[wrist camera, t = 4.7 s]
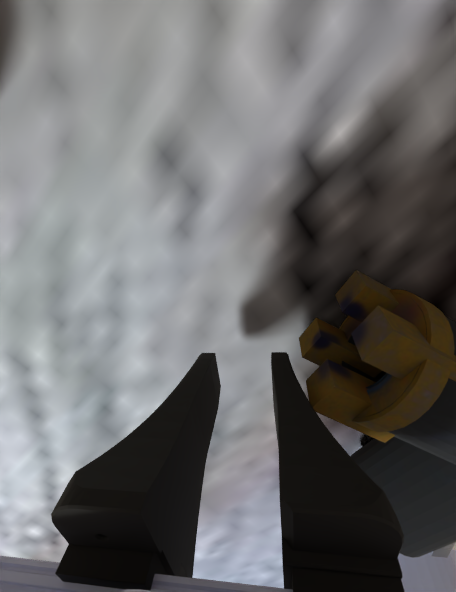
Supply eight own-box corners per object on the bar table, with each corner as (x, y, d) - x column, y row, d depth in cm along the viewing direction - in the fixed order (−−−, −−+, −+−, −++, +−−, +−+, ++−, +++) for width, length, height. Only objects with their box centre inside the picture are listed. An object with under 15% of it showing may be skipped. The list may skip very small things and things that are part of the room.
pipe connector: (236, 494, 13) (634, 136, 5) (243, 395, 17) (461, 129, 10) (447, 575, 14) (974, 392, 7) (403, 466, 19) (691, 284, 11)
